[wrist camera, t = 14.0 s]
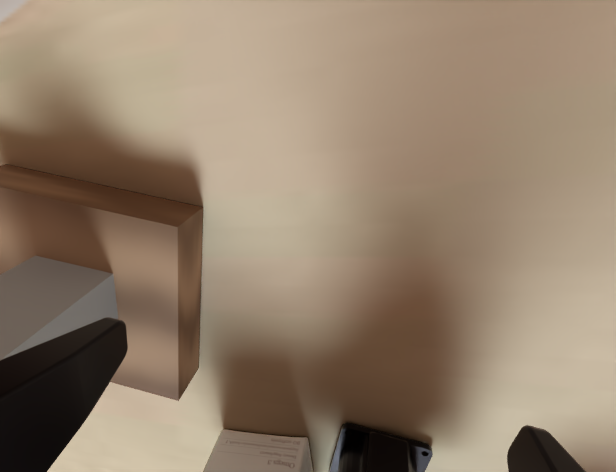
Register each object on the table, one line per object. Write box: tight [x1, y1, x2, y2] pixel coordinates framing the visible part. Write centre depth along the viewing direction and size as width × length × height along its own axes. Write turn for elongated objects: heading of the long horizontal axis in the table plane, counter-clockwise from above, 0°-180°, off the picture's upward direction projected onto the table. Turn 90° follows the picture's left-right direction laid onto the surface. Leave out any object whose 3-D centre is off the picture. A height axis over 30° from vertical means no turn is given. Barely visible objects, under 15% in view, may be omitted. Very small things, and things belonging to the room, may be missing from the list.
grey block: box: [0, 256, 118, 360], centre depth 19 cm, size 5×5×7 cm
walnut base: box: [0, 165, 203, 401], centre depth 24 cm, size 13×13×3 cm
